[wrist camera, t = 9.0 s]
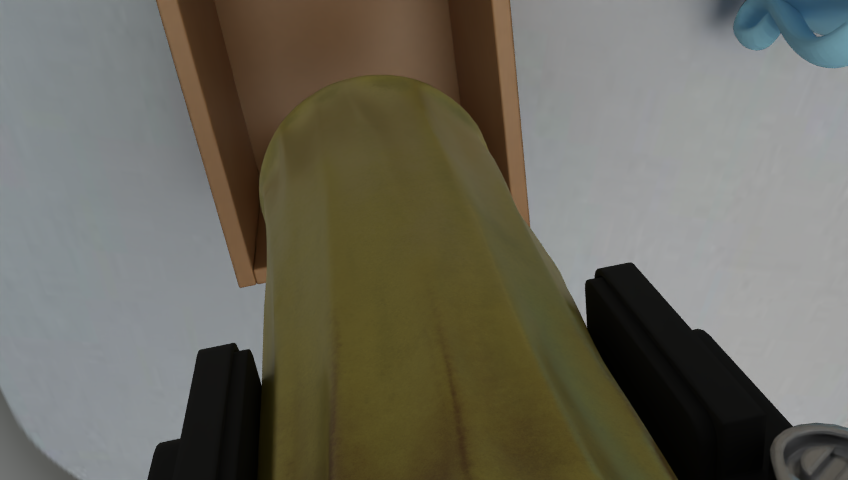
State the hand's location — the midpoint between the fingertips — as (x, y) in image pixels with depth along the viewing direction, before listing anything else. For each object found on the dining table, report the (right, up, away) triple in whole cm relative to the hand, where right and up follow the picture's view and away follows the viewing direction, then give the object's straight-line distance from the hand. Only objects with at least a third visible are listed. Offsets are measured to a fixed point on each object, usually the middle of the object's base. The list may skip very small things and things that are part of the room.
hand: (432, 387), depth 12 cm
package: (-3, +10, +19) cm, 22 cm away
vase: (-1, +4, +8) cm, 9 cm away
